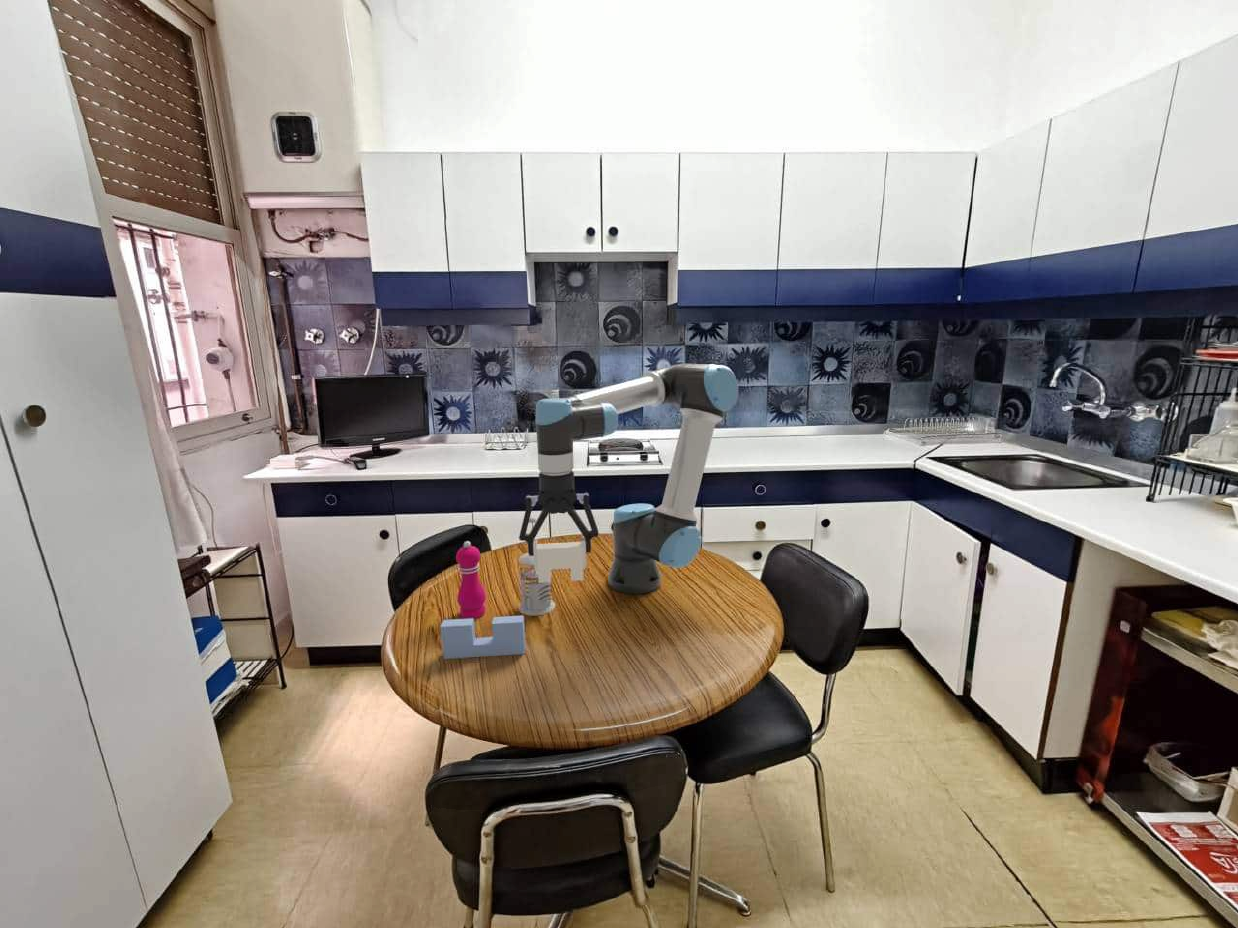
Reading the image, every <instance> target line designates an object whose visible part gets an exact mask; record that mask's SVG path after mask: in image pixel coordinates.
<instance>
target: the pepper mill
mask: <svg viewBox="0 0 1238 928" xmlns="http://www.w3.org/2000/svg"><path fill="white" fill-rule="evenodd" d="M471 543H472V542H471V541H469V540H467V541H464V543H463V546H462V547H461V548H459V549H458V551H457V552H456V555H455V560H456V563H457V564H458V565H459V566H458V572H460V575H461V584H460V587H459V590H458V592H457V596H456V597H457V598H456V599H457V600H456V601H457V604H458V606H460V610H459V611H460V617H462V619H470V618H474V619H478V618H481V617H482V616H483V615H484V614H485V613H486V605H485V604H484V603H485V602H486V600H487V594H486V593H487V592H486V590H485V588H484V586H483V585H482V583H481V581H480V578H479V572H478V571H479V570H480V564H479V562H480V559H481V553H480V549H478V547H475V546H472V544H471Z"/></svg>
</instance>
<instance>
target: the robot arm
mask: <svg viewBox="0 0 1238 928" xmlns="http://www.w3.org/2000/svg"><path fill="white" fill-rule="evenodd" d="M738 384H739V383H738V380H737V378H736V375H735V373H734V372H733V371H732V369H731V368H730V367H728V366H726V365H720V364H714V363H708V364H707V363H701V364H700V363H684V362H683V363H677V364H673V365H669V366H666V367H662V368H658V369H656V370H651V371H648V372H645V373H644V374H643V375H642V376H641V377H639V378H636V379H632V380H627V381H624V382H619V383H616V384H613V385H608V386H605V387H600V388H598V389H593V390H590V391H589V390H588V391H585V392H582V393H578V394H575V395H571V396H567V397H563V398H562V397H561V398H560V397H557V398H556V397H555V398H554V397H553V398H544V399H540V400H538V401H537V402H536V405H535V420H534V421H535V422H534V424H535V427H536V428H535V429H536V443H537V447H536V448H537V465H538V467H537V468H538V471H539V473H538V483H539V493H538V494H537V495H531V494H527V495H526V496H525V511H524V512H525V513H524V515H523V519H522V524H521V528H520V532H519V536H518V539H519V541H520V542H521V541H522V542H523V541H524V542H526V543H527V550H528V551H527V553H528V554H529V556H534V566H533V568H534V570H535V571H538V564H537V544H538V538H536V537H537V535H538V534H539V531H540V530H541V528H542V525H544V522H545V520H546V519H547V518H548V515H549V513H550V514H551V515H555V514H566V513H567V515H568V516H569V517H570V518H571V519H572V521H573V523H574V524H575V525H576V527H577V528H578V530H579V531H580V533H581V534H582V536H581V542H582V549H583V569H587V554H588V553H591V551H592V542H591V540H592V539H593V538H597V537H599V534H600V532H599V529H598V525H597V523H596V520H595V517H594V515H593V512H592V509H591V505H590V496H589V492H587V491H585V492H583V493H577V492H576V490H575V489H576V488H575V473H574V471H573V470H574V468H575V467H574V442H577V441H583V440H589V439H594V438H595V439H597V438H603V437H606V436H609V435H613V434H614V433H615V432H616V431H617V428H618V426H619V414H622V413H627V412H629V411H633V410H636V409H639V408H642V407H647V406H651V407H660V406H663V405H670V406H671V405H674V406H679V412H680V413H681V415H682V417H683V418H682V422H681V426H680V429H679V434H678V438H677V442H676V446H675V450H674V453H673V458H672V462H671V466H670V471H669V474H668V478H667V482H666V486H665V491H664V494H663V499H662V503H661V504H660V505H659V506H657V507H655V506H654V505H653V504H650V503H631V504H626V505H621V506H620V507H618V508H617V507H616V509H615V510H614V512H613V521H612V525H613V526H612V530H613V555H614V557H613V561H612V562H611V563H612V564H611V566H610V570H609V573H608V585H609V587H610V588H611V589H613V590H615V591H617V592H620V593H624V594H629V595H630V594H637V595H638V594H645V593H651V592H652V591H654V590H656V589H658V588H659V587H660V585H661V578H662V577H661V576H662V575H661V572H660V570H659V566H658V563H657V562H659V563H660V564H662V565H663V566H668V567H671V568H676V569H681V568H685V567H686V566H688V565H689V564H690V563H692V562H693V561H694V560H695V558H696V557H697V555H698V554H699V551H700V549H701V547H702V542H703V541H702V536H701V535H702V534H701V531H700V530H699V529H698V528H697V527H696V526H697V523H698V518H697V516H696V515H695V507H696V502H697V500H698V499H697V498H698V494H699V491H700V488H701V482H702V479H703V474H704V471H705V467H706V464H707V458H708V454H709V450H710V447H711V442H712V438H713V435H714V431H715V427H716V424H718V423H720V422H721V421H722V420H723V418H724V415H725V412H728V411H730V410H732V409H733V407H735V405H736V403H737V401H738V398H739V385H738ZM577 500H578V501H579V503H580V504H581V505H583V509H584V512H585V515H586V519H587V520H588V523H589V527H590V529H591V530H589V528H588V527H587V526H586V525H585V523H584V521H583V520H582V518H581V517H580V516H579V514H578V512H577V511H576V510H575V508H574V506H573V505H574V504H575V502H576V501H577ZM537 502H538V503H539V504H540V505H541V506H542V507H543V508H542V510H541V512H540V514H539V515H538V517H537V519H536V522H535V523H533V528H532V527H531V530H530V532H529V533H527V531H528V526H529V524H530V523H529V519H530V518H531V514H532V511H533V507H535V506H536V503H537Z"/></svg>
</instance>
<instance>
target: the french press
mask: <svg viewBox="0 0 1238 928" xmlns="http://www.w3.org/2000/svg"><path fill="white" fill-rule="evenodd" d="M536 521H537V519H536V518H535V517H531V516H530V519H529V523H528V524H531V529H532V528H533V526H534V524H535V523H536ZM518 562H519V563H520V564H521V565H523V566H526V567H529V568H526V569H524V568H522V569H521V570H520V572H519V575H518V578H517V590H518V593H519V594H520V595H521V603H520V604H519V605H518V611H519V612H520V614H521V613H522V615H523V614H524V615H526V616H531V617H532V616H542V615H544V614H549V613H550V612H552V611H553V610H554V609H555V607H556V603H555V601H553V600H552V595H551V594H552V591H551V582H545V583H539V582H538V571H535V570H534V556H529V554H528V552H524V554H523V555H521V556H520V557H518ZM519 580H520V583H519ZM527 581H529V582H527ZM530 581H531V582H530ZM532 581H533V582H532ZM519 584H520V587H519Z"/></svg>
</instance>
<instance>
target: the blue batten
mask: <svg viewBox="0 0 1238 928" xmlns="http://www.w3.org/2000/svg"><path fill="white" fill-rule="evenodd" d="M491 627H492V628H491V629H492V631H491V632H492V636H489V637H488V636H486V637H476V629H475V618H470V619H466V618H456V619H443V621H442V623H441V624H440V634H441V635H440V637H441V646H442V655H443V656H442V657H443V660H449V659H467V658H481V657H482V658H483V657H499V656H500V657H501V656H514V655H515V656H516V655H525V653H526V648H527V647H526V632H525V631H526V629H525V614H524V615H523V614H522V615H509V616H507V615H506V616H494V617H493V620H492V621H491Z"/></svg>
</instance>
